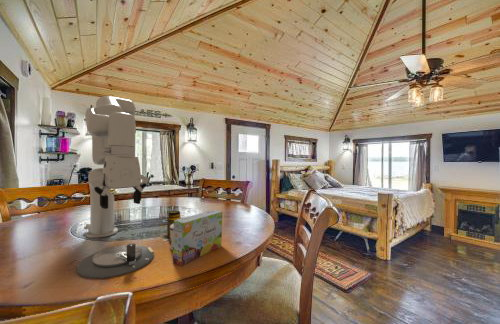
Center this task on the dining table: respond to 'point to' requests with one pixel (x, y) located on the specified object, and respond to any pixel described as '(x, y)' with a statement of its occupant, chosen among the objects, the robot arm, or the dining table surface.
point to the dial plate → (92, 271)
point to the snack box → (196, 236)
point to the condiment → (170, 220)
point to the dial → (117, 256)
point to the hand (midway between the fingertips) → (121, 205)
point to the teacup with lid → (171, 236)
